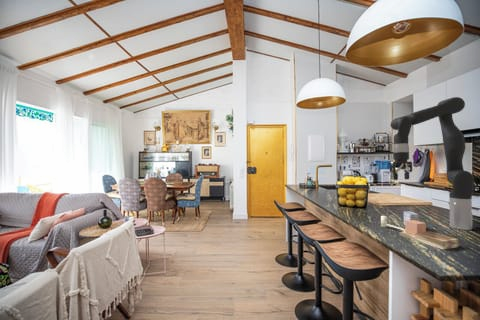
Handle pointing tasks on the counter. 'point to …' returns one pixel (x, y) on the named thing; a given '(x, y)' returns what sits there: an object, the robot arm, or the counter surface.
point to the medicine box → (410, 216)
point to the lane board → (433, 239)
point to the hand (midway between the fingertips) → (401, 179)
